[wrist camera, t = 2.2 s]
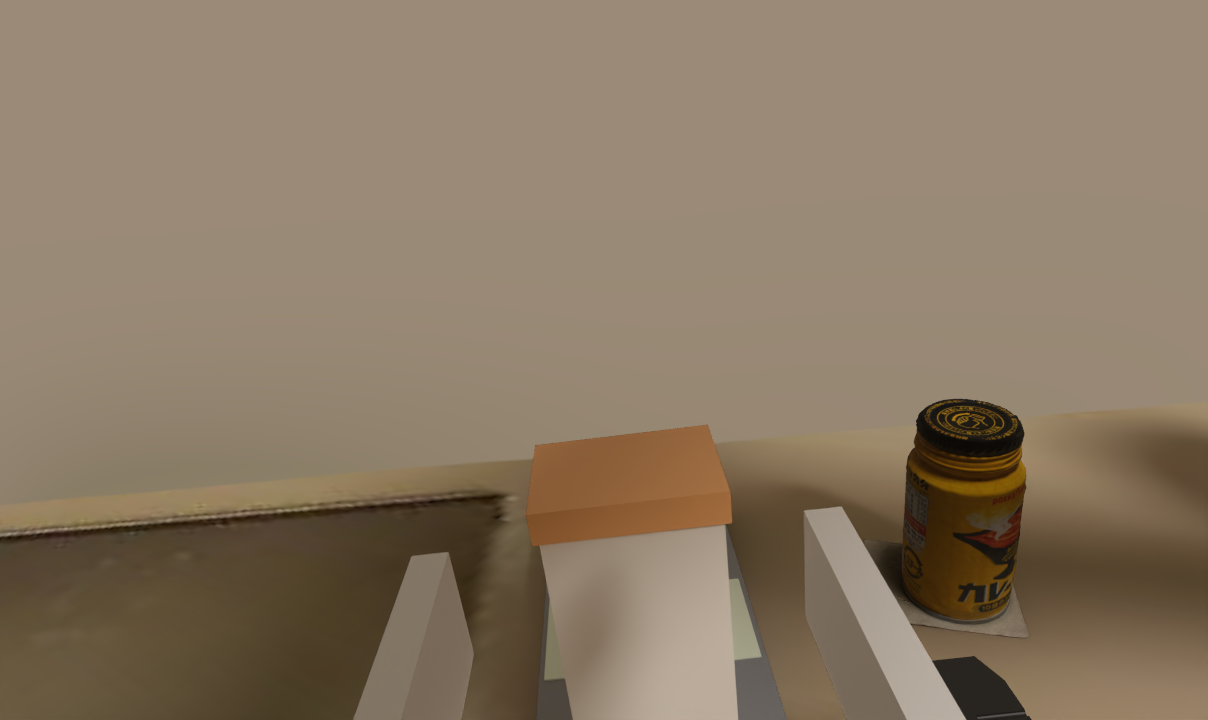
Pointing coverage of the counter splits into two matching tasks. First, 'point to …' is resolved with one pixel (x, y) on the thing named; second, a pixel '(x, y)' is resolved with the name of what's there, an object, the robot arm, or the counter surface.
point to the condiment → (960, 521)
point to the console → (752, 669)
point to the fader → (638, 573)
